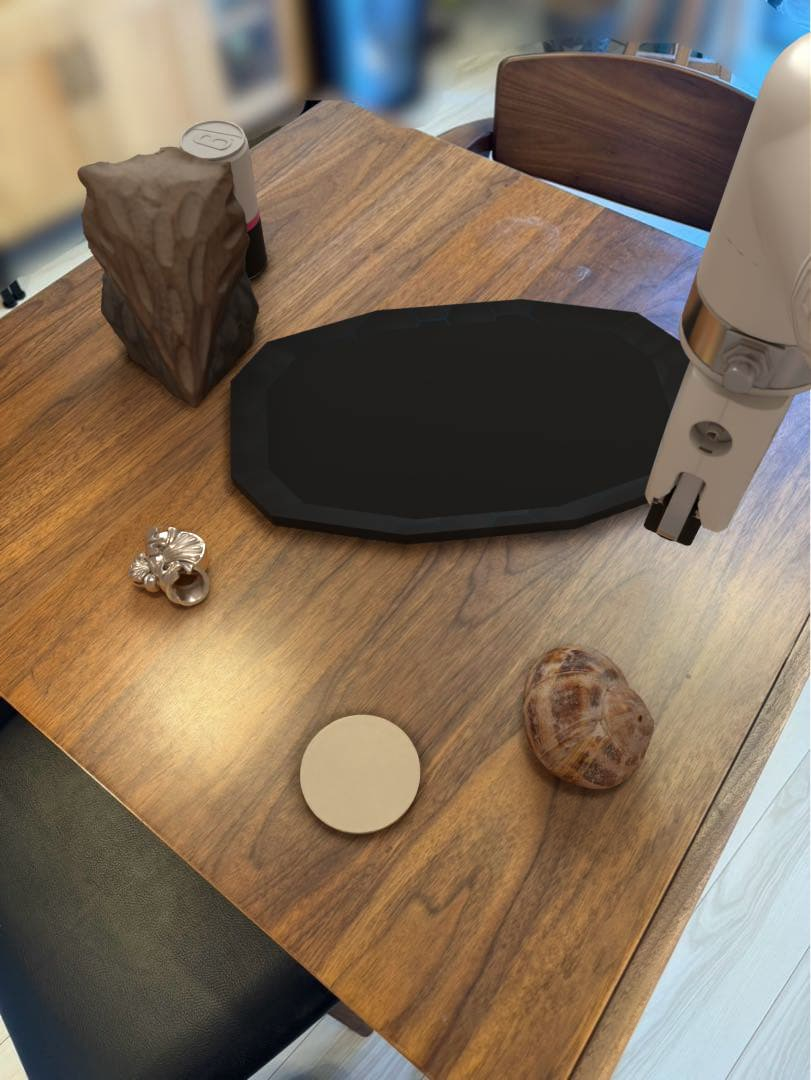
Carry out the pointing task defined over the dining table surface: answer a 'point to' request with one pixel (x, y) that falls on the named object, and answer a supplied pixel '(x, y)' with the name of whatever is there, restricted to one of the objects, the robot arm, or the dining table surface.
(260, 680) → the dining table surface
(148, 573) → the ornament
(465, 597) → the dining table surface
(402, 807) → the coaster
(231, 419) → the tray
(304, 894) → the dining table surface
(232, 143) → the beverage can
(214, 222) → the brown rock
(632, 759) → the seashell
